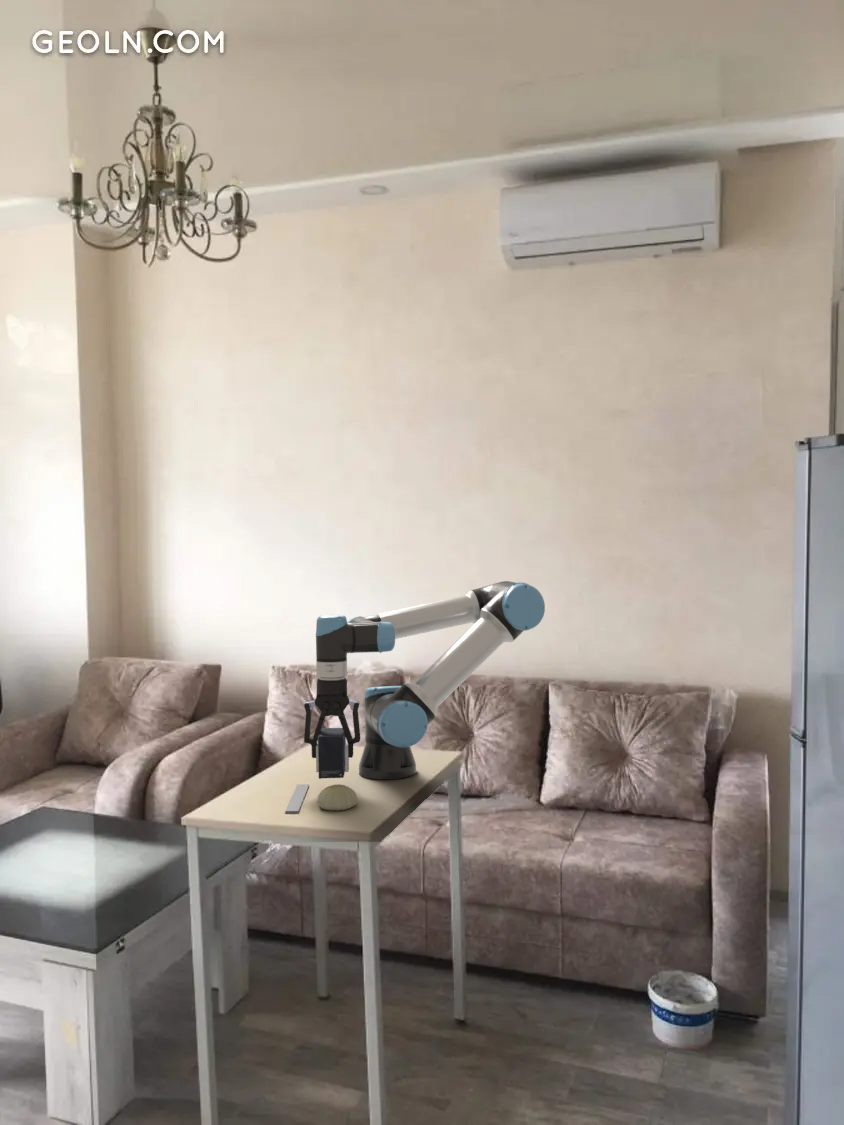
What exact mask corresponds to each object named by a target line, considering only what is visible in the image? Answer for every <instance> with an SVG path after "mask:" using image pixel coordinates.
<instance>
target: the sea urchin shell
mask: <svg viewBox="0 0 844 1125" xmlns="http://www.w3.org/2000/svg"><path fill="white" fill-rule="evenodd" d="M357 802H358V796H357V793H356V792H355V790H354V789H352V788H351V787H349V786H348V785H345V784H333V785H329V786H326V787H325V788H323V789H322V790H321V791H320V793H319V794H318V796H317V803H318V805H319V807H320V808H321V809H323V810H326V811H335V810H336V812H337V811H340V810H342V811H346V810H350V809H352V808H353V807H354V806H356V804H357Z"/></svg>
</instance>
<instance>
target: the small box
mask: <svg viewBox="0 0 844 1125" xmlns="http://www.w3.org/2000/svg"><path fill="white" fill-rule="evenodd" d="M346 743H347V740H346V737H345V734H344V731H343V728H342V727H322V728H321V731H320V733H319V735H318V740H317V744H318V762H319V772H318V780H321V779H343V778H344V777H345V774H346V772H345V744H346Z"/></svg>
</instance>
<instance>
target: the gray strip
mask: <svg viewBox="0 0 844 1125" xmlns="http://www.w3.org/2000/svg"><path fill="white" fill-rule="evenodd" d="M309 788H310V784H307V783H305V784H296V786H295V789H294V791H293V793H292V795H291V797H290V799H289V801H288V804H287V806H286V809H285V811H284V812H285V814H299V813H300V810H301V809H302V806H301V805H303V803H304V801H303V800H305V798H306V796H307V793H308V791H309ZM306 792H307V793H306Z"/></svg>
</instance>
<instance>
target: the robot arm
mask: <svg viewBox="0 0 844 1125" xmlns="http://www.w3.org/2000/svg"><path fill="white" fill-rule="evenodd" d="M545 610H546V607H545V600H544V597H543V595H542V593H541V592H540V591H539V590H538V588H536V587H534V586H533V585H531V584H528V583H526V582H514V581H508V580H507V581H506V580H505V581H499V582H495V583H492V584H489V585H486V586H482V587H478V588H475V589H470V590H468V591H467V593H466V594H464V595H460V596H456V597H450V598H446V599H442V600H437V601H433V602H428V603H422V604H418V605H413V606H409V607H403V608H400V609H396V610H395V609H394V610H391V611H386V612H381V613H377V614H371V615H367V616H361V615H360V616H355V617H353V618H351V619H349V620H347V617H346V615H344V614H323V615H320V616H318V617H317V619H316V626H315V627H316V630H315V651H316V652H315V654H316V656H315V657H316V667H315V668H316V671H315V673H316V675H315V676H316V677H317V679H316V697H315V700H312V701H311V700H310V701H305V703H304V709H305V723H304V734H303V735H304V737H303V742H304V743H305V744H309V745H310V746H311V758H312V759H315V764H316V765H315V766H316V768H315V772H316V773H319V762H318V735H319V733H320V731H321V728H323V725H324V721H325V719H326V717H330V716H331V717H332V716H334V717H338V720H339V722H340V725H341V728H343V731H344V734H345V737H346V744H345V773H348V772H350V771H349V770H350V758H351V759H352V758H353V757H354V744H356V743H360V741H361V729H360V719H359V708H360V701H358V700H356V701H354V700H351V699H350V698H349V696H348V679H347V678H346V677H347V676H348V658H347V656H348V654H355V653H356V654H357V653H380V654H381V653H384V652H386V653H387V652H391V651H393V650H394V648H395V644H396V640H398V639H402V638H403V639H404V638H407V637H412V636H416V635H420V634H421V635H422V634H425V633H429V632H433V631H434V632H435V631H439V630H443V629H448V628H453V627H457V626H462V625H466V624H470V623H472V624H473V625H471V626H470V628H469V629H468V630H466V631H465V632H464V633H463V634H462V636H460V637H459V638H458V639H457V640H456V641H455V643H453V644H452V645H451V646H450V647H449V648H448V649H447V650H446V651H444V653H443V654H441V656H440V657H439V658H438V659H437V660H435V661H434V662H433V664H431V665H430V666H429V667H428V668H427V670H425V671H424V672H423V673H422V674H421V675H420V676H419V677H418V678H417V679H416V680H415V681H414V682H404V683H403V684H402V685H388V686H387V685H386V686H373V687H372V686H371V687H368V688H366V689H365V691H364V698H363V702H364V729H365V730H364V735H365V736H364V737H365V738H364V739H365V742H364V744H365V745H364V748H363V751H362V754H361V758H360V761H359V764H358V773H359V775H360V776H361V777H364V778H367V779H373V780H398V779H404V778H409V777H412V776H414V775H415V774H416V773H417V763H416V759H415V757H414V754H413V751H412V749H411V748H412V747H413V746H415V745H417V744H418V743H419V742H421V740H422V739H423V738H424V736H425V735H426V733H427V730H428V726H429V725H430V724H431V723H432V722H433V720H435V718H437V716H438V707H439V706H440V705H441V704H443V702H444V701H445V700H446V699H447V698H448V697H449V696H450V695H452V693H454V691H456V690H457V689H458V687H460V686H461V685H462V684H463V683H464V681H465V682H466V680H467V679H468V678H469V677H470V676H471V675H472V674H473V673H474V672H475V671H476V670H478V668H479V667H480V666H481V665H483V663H484V662H485V661H486V660H487V659H489V657H490V656H491V655H492V654H493V653H494V652H495V651H497V649H498V648H500V647H501V645H503V644H504V643H513V642H514V641H515V640H516V639H517V638H518V637H519V636H520V635H521V634H522V633H523V632H524V631H525V632H526V631H529V630H531V629H532V630H533V629H534V628H536V627H537V626H538V625H539V624H540V623H541V622H542V620H543V619H544V616H545ZM315 706H316V708H317V709H318V710H319V712H320V715H319V717H318V718H319V719H318V721H317V725H316V726H315V727H316V728H315V730H314V733H313V735H312V736H313V737H311V730H312V729H311V728H312V717H313V715H312V714H313V710H314V708H315ZM348 706H349V709H350V710H351V711H352V723H353V732H354V737H353V735H352V733H351V730H350V727H349V725H348V722H347V719H346V715H345V712H344V711H345V709H346V708H347V707H348ZM414 773H415V774H414ZM413 774H414V775H413ZM411 775H412V776H411ZM408 776H409V777H408Z"/></svg>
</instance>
